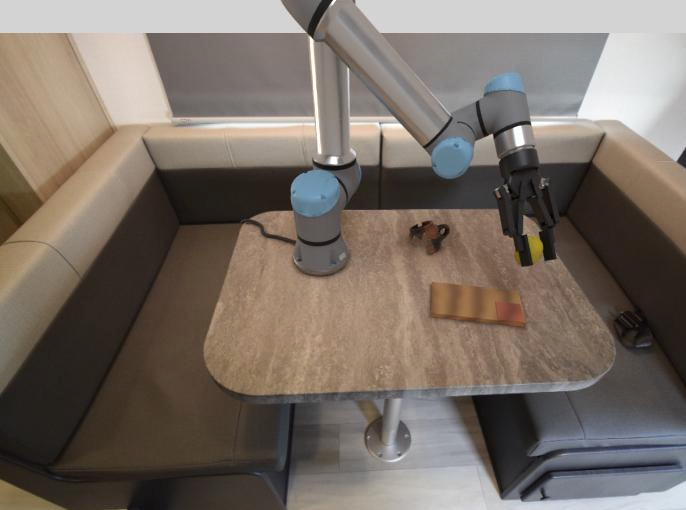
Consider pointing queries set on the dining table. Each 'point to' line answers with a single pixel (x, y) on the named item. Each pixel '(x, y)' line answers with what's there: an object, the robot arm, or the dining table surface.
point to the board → (477, 304)
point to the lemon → (532, 250)
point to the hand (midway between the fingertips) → (539, 262)
